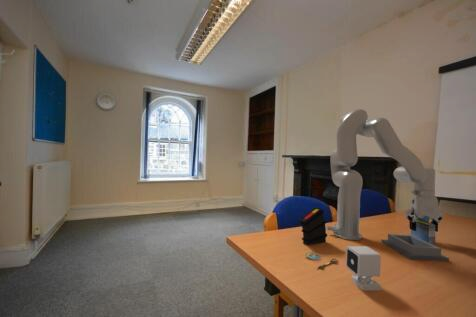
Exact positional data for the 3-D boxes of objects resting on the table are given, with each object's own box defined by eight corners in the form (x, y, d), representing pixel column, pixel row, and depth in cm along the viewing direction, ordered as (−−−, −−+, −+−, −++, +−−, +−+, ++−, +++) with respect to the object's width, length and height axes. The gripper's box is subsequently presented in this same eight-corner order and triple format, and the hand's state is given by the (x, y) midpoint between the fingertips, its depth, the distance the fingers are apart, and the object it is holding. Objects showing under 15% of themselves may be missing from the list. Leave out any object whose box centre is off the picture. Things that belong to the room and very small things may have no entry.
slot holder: (409, 259, 82) (410, 247, 82) (381, 242, 99) (381, 232, 99) (448, 261, 81) (449, 249, 81) (413, 243, 98) (414, 234, 98)
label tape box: (435, 243, 99) (436, 216, 99) (428, 244, 99) (429, 216, 99) (417, 237, 108) (417, 211, 108) (409, 237, 107) (410, 211, 107)
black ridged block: (331, 237, 97) (322, 207, 94) (312, 255, 92) (301, 224, 89) (324, 234, 101) (315, 206, 98) (305, 251, 95) (295, 221, 92)
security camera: (345, 279, 66) (346, 245, 66) (367, 278, 67) (368, 245, 67) (358, 291, 60) (359, 254, 60) (382, 291, 60) (383, 254, 60)
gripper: (411, 194, 100) (410, 232, 100) (450, 195, 99) (450, 233, 99) (399, 192, 107) (398, 227, 107) (436, 193, 107) (435, 228, 107)
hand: (423, 230), depth 103 cm, fingers open, 9 cm apart
